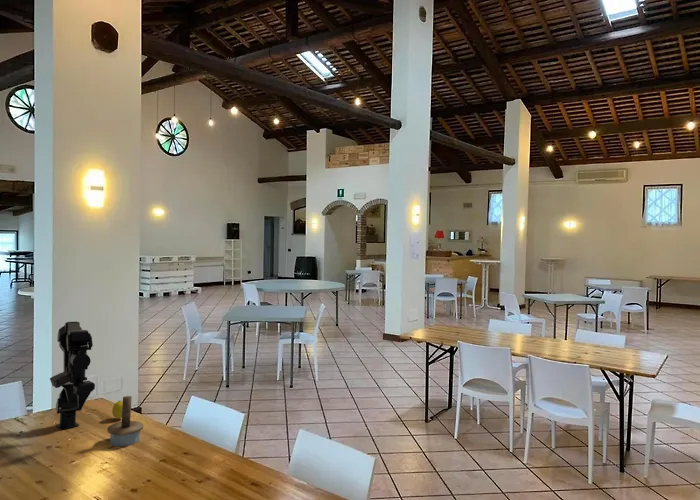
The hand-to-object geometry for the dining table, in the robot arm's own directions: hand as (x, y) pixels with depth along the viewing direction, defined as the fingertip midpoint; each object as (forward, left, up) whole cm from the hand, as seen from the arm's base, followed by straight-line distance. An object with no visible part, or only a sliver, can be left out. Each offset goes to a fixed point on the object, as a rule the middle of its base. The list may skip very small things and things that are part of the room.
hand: (75, 405), depth 179 cm
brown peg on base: (+14, +13, -8) cm, 21 cm away
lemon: (-10, +22, -13) cm, 28 cm away
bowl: (+14, +13, -13) cm, 23 cm away
